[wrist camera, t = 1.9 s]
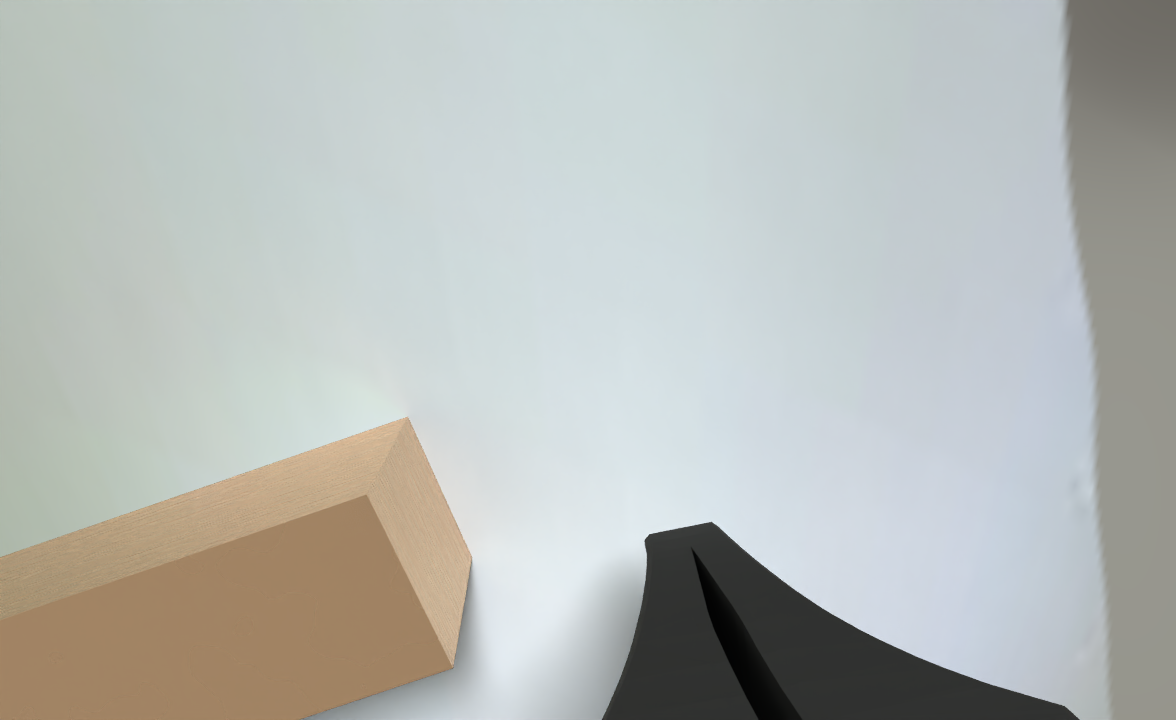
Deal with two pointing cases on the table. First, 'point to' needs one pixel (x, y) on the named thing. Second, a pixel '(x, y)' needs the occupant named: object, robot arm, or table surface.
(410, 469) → the pine wood beam
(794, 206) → the table surface
